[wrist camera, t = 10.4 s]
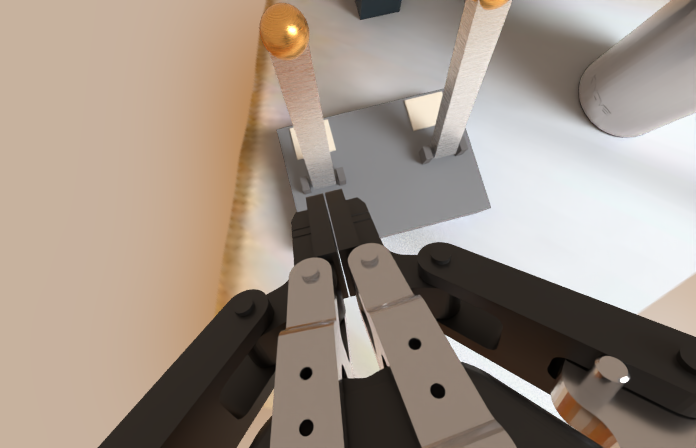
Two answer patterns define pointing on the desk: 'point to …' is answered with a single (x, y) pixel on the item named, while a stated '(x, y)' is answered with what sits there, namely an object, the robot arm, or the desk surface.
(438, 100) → the switch console
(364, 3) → the stone sculpture on base
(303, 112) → the lever
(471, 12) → the lever
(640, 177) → the desk surface
